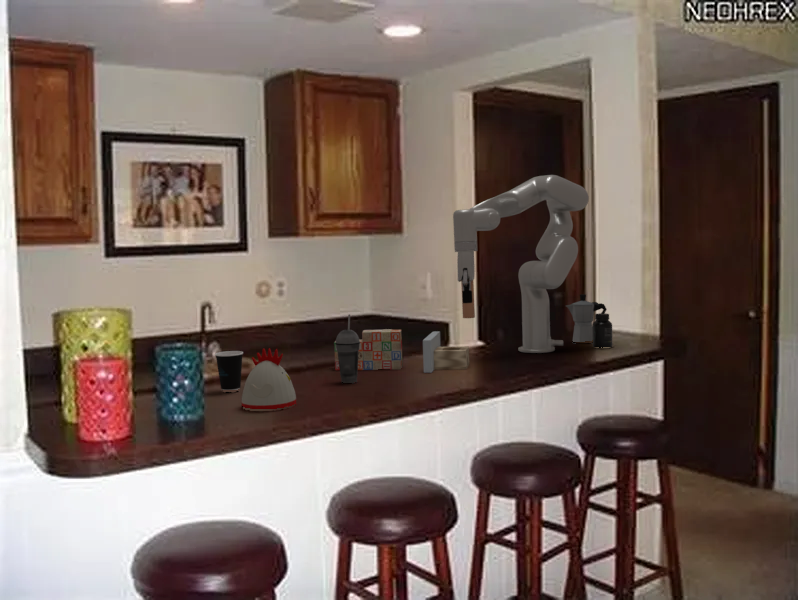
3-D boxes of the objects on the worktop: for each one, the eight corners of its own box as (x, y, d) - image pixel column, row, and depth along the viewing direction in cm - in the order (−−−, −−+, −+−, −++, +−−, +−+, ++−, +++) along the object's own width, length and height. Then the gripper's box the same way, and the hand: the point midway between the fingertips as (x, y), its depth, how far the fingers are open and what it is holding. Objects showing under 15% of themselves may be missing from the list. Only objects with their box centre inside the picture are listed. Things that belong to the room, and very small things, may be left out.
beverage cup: (350, 379, 249) (347, 312, 247) (366, 381, 243) (364, 313, 242) (331, 382, 243) (328, 314, 242) (348, 385, 238) (345, 316, 237)
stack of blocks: (334, 371, 265) (333, 332, 264) (337, 367, 271) (336, 330, 270) (401, 369, 264) (400, 331, 263) (403, 366, 270) (401, 328, 269)
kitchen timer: (287, 412, 205) (284, 351, 204) (234, 412, 208) (230, 352, 207) (302, 400, 219) (300, 344, 218) (252, 400, 221) (249, 344, 220)
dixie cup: (247, 388, 239) (245, 350, 238) (242, 393, 231) (240, 354, 231) (219, 389, 239) (217, 351, 238) (213, 394, 231) (211, 355, 231)
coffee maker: (566, 344, 307) (565, 295, 305) (565, 341, 315) (564, 293, 314) (608, 343, 304) (607, 294, 303) (606, 340, 313) (605, 292, 311)
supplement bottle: (612, 346, 298) (611, 312, 297) (612, 349, 291) (612, 314, 290) (592, 346, 299) (592, 313, 298) (592, 349, 293) (592, 315, 292)
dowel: (475, 316, 279) (473, 275, 277) (474, 318, 275) (472, 275, 273) (463, 317, 279) (461, 275, 278) (462, 318, 275) (460, 276, 274)
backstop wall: (440, 361, 277) (440, 331, 276) (431, 372, 255) (430, 340, 254) (433, 361, 277) (432, 331, 276) (423, 372, 256) (422, 340, 255)
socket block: (469, 364, 269) (468, 346, 268) (466, 370, 259) (465, 350, 259) (438, 365, 271) (438, 346, 270) (434, 370, 261) (433, 351, 260)
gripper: (457, 246, 284) (459, 300, 285) (451, 248, 267) (454, 305, 269) (479, 245, 282) (481, 299, 284) (474, 247, 266) (477, 304, 268)
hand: (468, 301), depth 277 cm, fingers closed on dowel, 4 cm apart
